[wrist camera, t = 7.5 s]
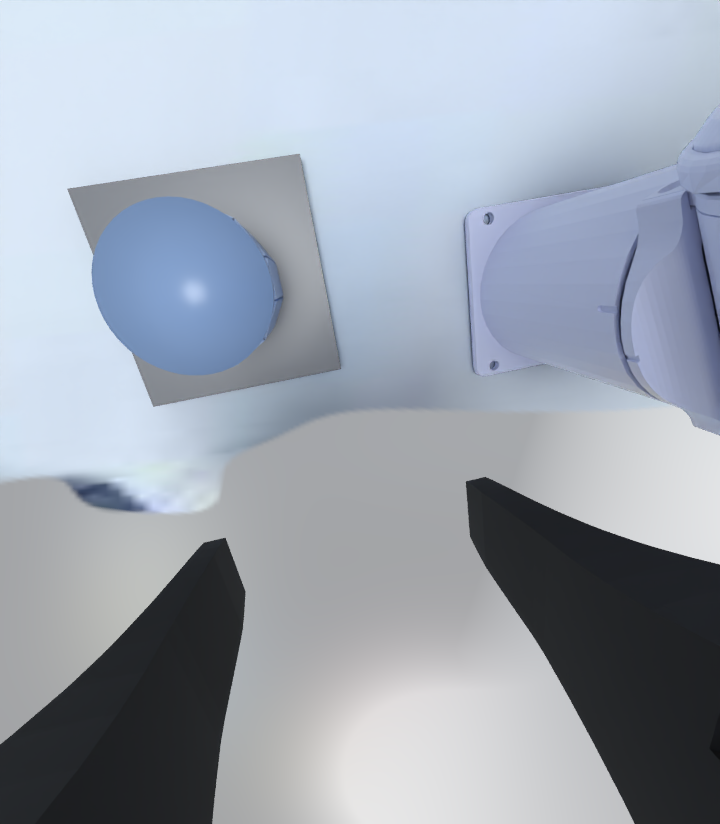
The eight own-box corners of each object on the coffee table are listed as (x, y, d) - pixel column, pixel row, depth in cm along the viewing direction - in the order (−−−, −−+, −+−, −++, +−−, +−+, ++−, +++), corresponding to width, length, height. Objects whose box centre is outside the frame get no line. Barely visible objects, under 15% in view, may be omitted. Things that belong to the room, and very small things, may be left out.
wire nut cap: (265, 214, 15) (247, 183, 10) (293, 338, 17) (289, 358, 12) (137, 235, 15) (59, 212, 10) (180, 360, 16) (131, 389, 12)
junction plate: (299, 160, 15) (298, 122, 12) (339, 365, 18) (348, 384, 15) (79, 193, 15) (7, 164, 11) (159, 401, 18) (123, 430, 14)
